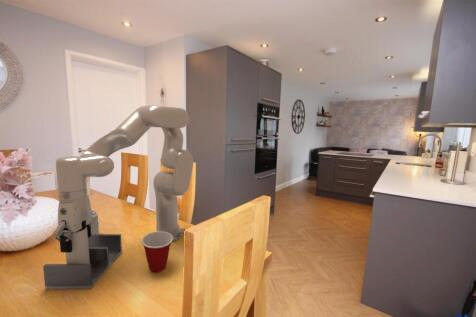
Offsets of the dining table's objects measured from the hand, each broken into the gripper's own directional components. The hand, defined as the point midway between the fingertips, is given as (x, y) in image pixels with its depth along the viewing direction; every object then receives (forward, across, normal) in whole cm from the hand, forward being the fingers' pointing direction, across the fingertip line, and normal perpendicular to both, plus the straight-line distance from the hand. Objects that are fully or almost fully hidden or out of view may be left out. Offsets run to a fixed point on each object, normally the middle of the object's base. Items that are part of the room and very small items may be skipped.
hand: (77, 243), depth 74 cm
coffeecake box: (+12, +87, +57) cm, 105 cm away
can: (+12, +29, +14) cm, 35 cm away
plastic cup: (+12, +5, -25) cm, 28 cm away
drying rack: (+12, +5, 0) cm, 13 cm away
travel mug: (+12, 0, 0) cm, 12 cm away
